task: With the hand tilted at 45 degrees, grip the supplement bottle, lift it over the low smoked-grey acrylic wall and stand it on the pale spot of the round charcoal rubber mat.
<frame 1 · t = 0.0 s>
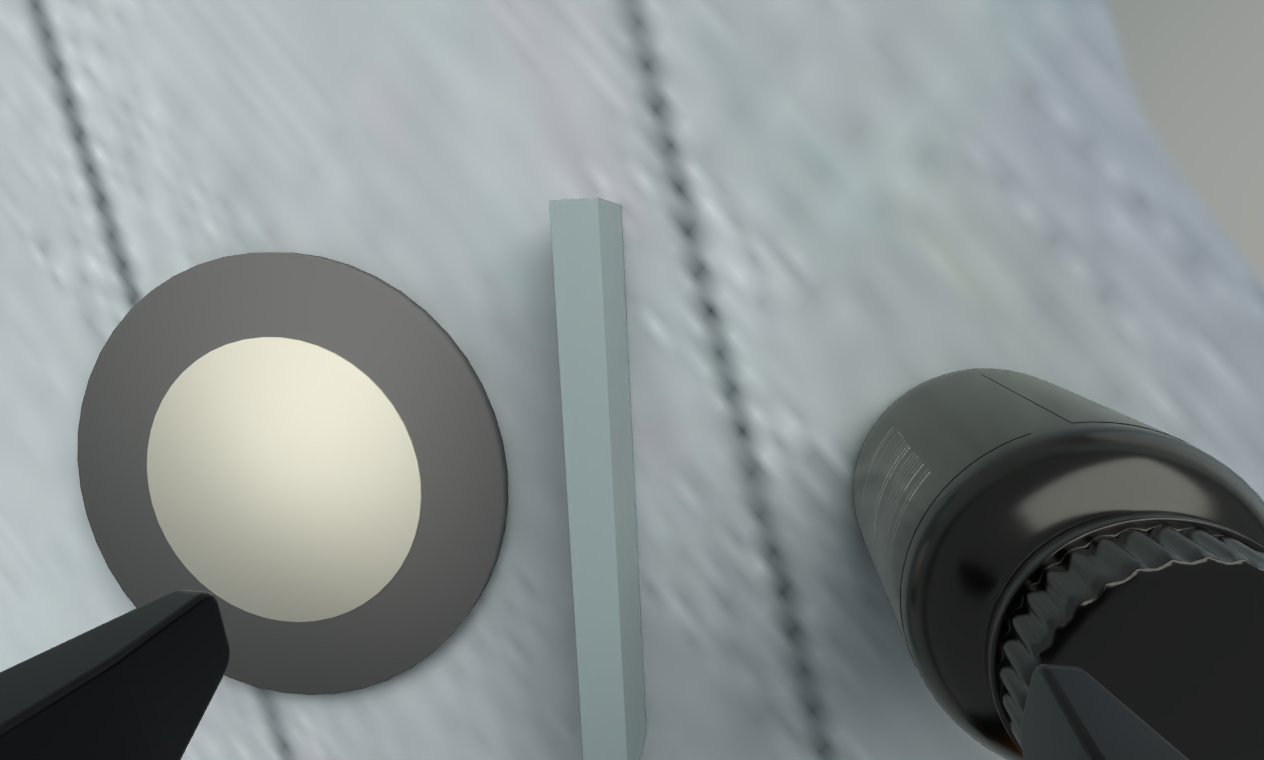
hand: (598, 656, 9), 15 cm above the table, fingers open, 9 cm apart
supplement bottle: (975, 482, 24), on the table
acrylic wall: (614, 480, 25), on the table
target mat: (292, 477, 27), on the table
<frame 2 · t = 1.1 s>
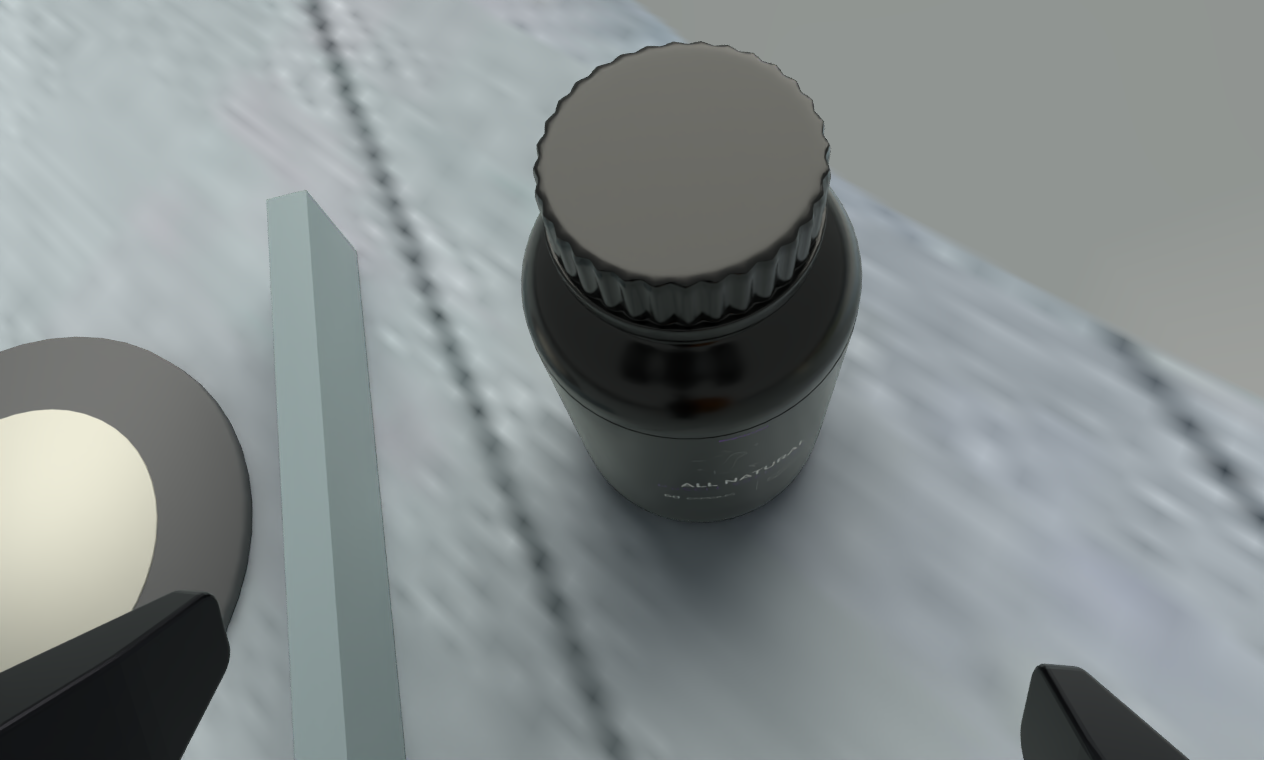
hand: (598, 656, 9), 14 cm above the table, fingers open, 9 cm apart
supplement bottle: (702, 412, 25), on the table
acrylic wall: (358, 486, 25), on the table
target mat: (26, 560, 25), on the table
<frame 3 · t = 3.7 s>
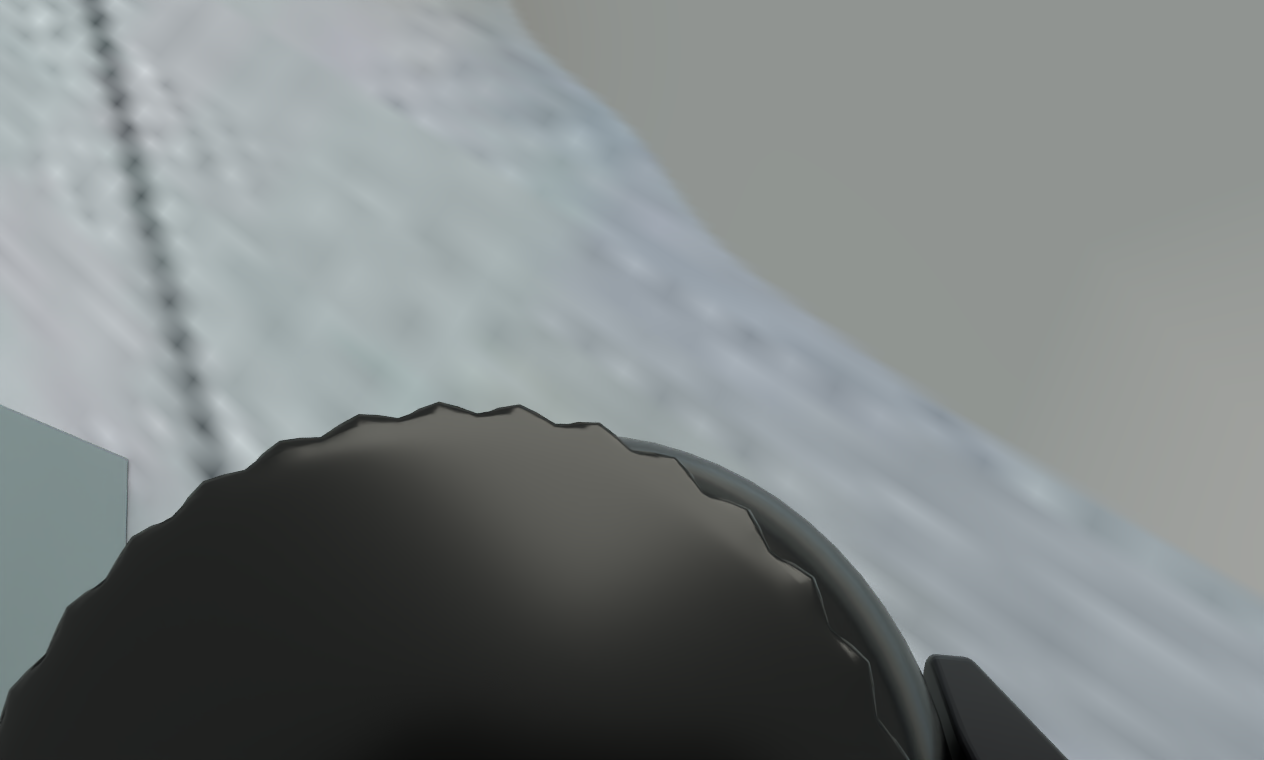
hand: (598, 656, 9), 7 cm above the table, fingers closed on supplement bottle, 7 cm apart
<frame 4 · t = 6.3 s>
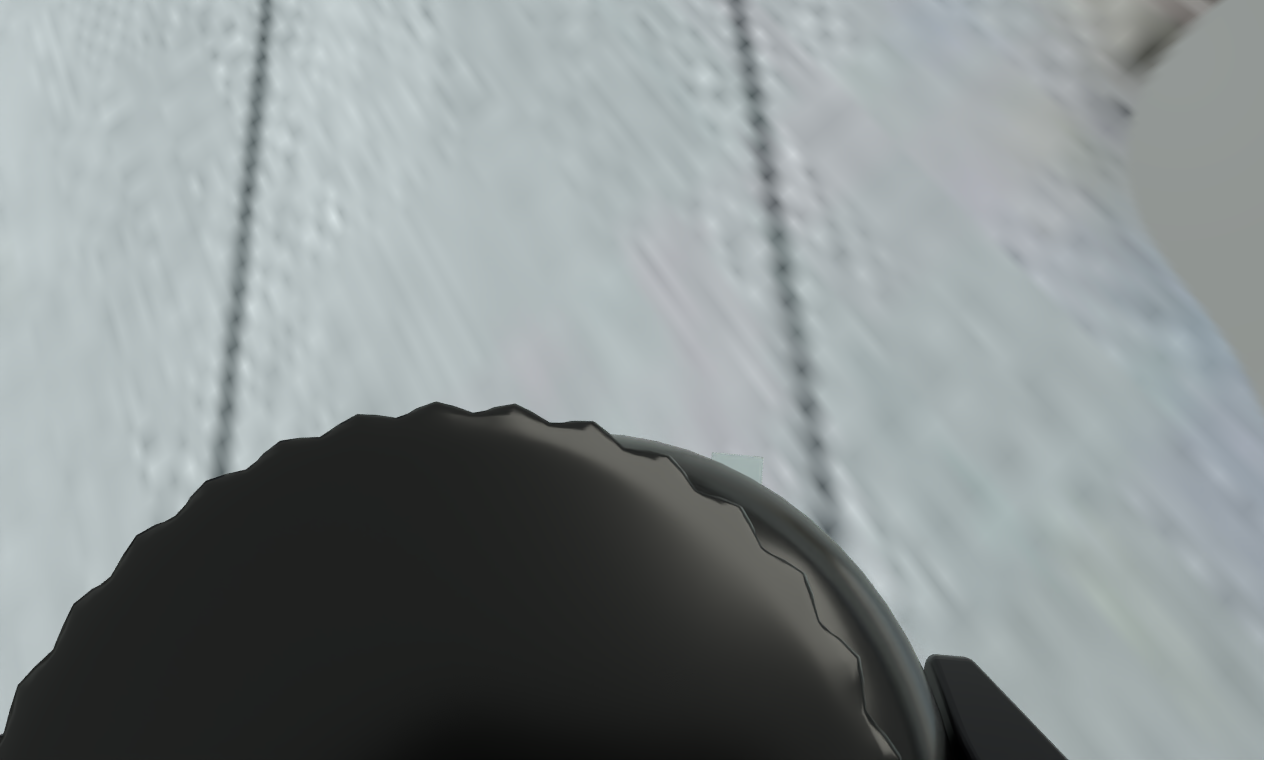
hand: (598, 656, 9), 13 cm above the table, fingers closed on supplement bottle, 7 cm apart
when the fingers open (8 cm above the table, at t = 8.7 s): supplement bottle stays where it is, resting on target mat.
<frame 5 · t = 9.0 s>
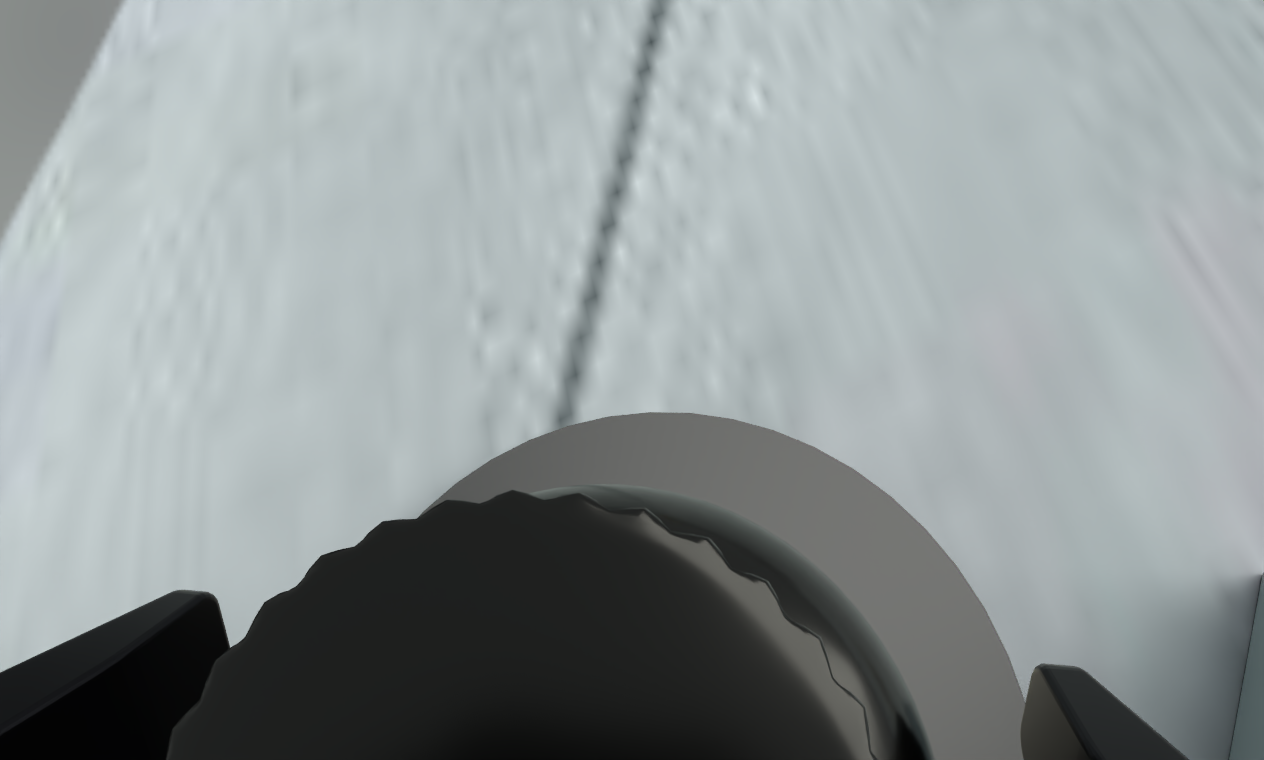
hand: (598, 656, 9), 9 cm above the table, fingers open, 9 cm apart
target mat: (656, 758, 17), on the table
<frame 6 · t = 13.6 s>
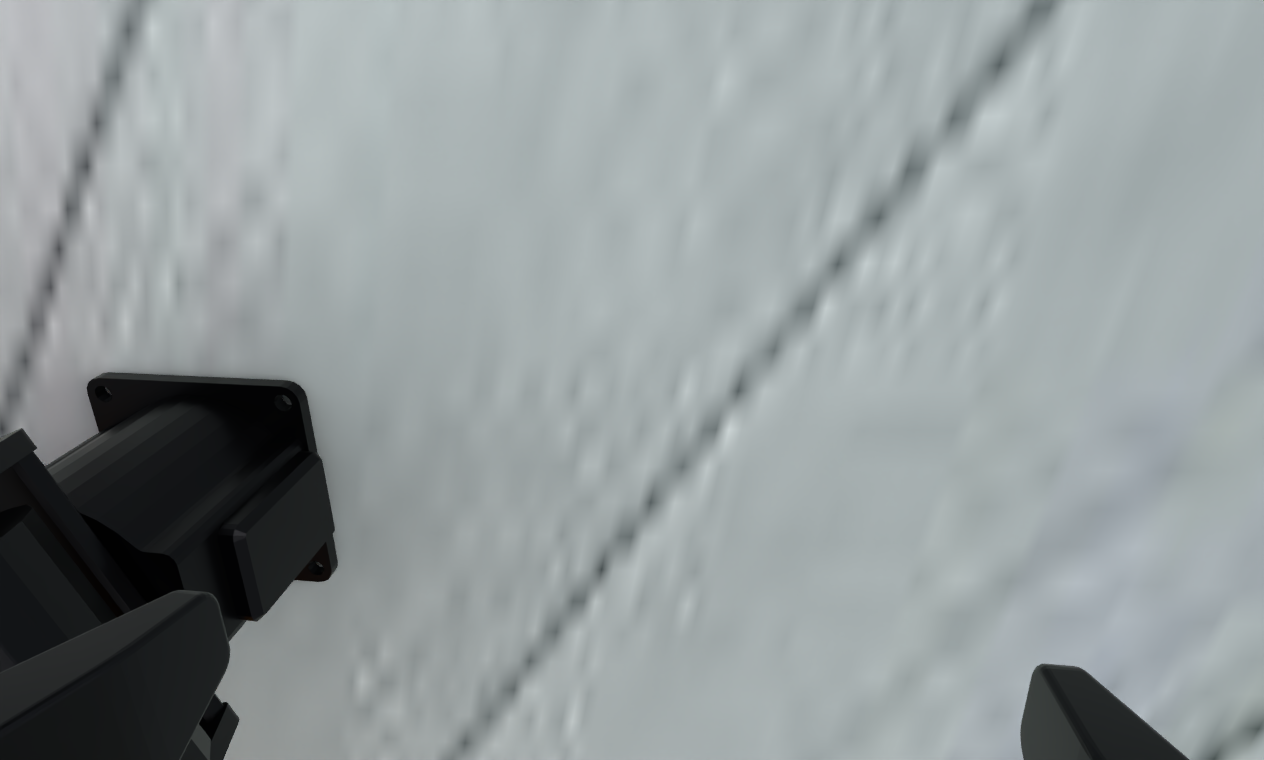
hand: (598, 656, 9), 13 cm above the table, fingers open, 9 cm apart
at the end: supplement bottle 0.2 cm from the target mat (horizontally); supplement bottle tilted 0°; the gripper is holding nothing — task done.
